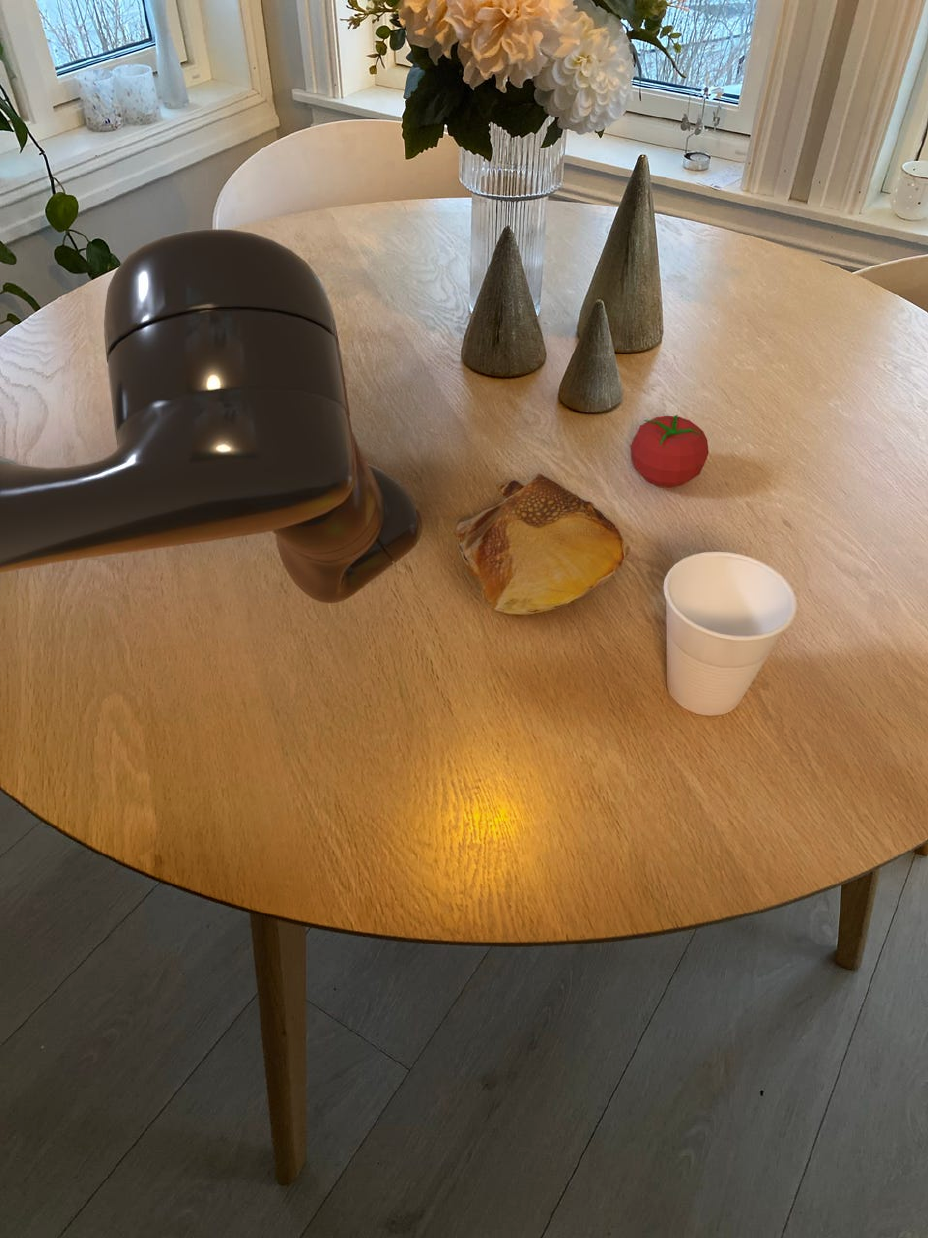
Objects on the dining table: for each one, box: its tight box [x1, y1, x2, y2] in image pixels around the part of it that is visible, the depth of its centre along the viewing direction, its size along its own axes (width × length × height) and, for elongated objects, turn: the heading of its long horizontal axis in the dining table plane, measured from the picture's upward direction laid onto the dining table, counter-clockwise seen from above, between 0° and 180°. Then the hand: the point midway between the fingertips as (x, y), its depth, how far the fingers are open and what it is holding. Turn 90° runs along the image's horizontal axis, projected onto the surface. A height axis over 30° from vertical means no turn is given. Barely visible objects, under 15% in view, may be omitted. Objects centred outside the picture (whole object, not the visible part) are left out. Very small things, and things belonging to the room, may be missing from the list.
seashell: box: [452, 473, 631, 616], centre depth 90 cm, size 17×8×15 cm
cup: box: [663, 551, 798, 717], centre depth 76 cm, size 10×10×11 cm
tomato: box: [630, 414, 710, 488], centre depth 99 cm, size 8×8×8 cm
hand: (200, 342), depth 91 cm, fingers closed
